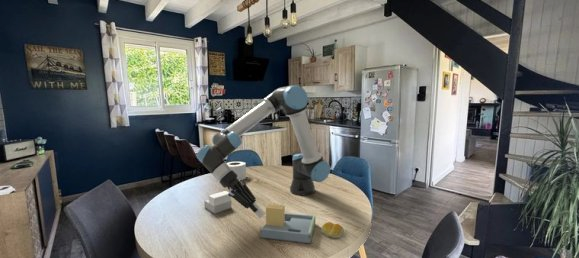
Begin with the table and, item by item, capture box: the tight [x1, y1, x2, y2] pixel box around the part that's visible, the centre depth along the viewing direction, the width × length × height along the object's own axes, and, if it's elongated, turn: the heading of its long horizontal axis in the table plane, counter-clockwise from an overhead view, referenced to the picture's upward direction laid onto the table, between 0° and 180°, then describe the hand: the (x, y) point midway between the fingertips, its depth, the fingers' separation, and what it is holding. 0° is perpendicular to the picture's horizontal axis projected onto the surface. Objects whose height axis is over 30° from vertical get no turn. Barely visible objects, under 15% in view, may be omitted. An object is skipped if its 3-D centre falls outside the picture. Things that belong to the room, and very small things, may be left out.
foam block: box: [203, 190, 232, 214], centre depth 125 cm, size 10×10×8 cm
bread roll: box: [321, 221, 345, 239], centre depth 99 cm, size 8×9×4 cm
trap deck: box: [259, 212, 316, 245], centre depth 102 cm, size 20×16×4 cm
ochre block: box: [265, 203, 286, 227], centre depth 103 cm, size 7×4×8 cm, turn 77°
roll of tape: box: [226, 161, 247, 181], centre depth 175 cm, size 16×15×11 cm
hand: (262, 215), depth 104 cm, fingers closed
